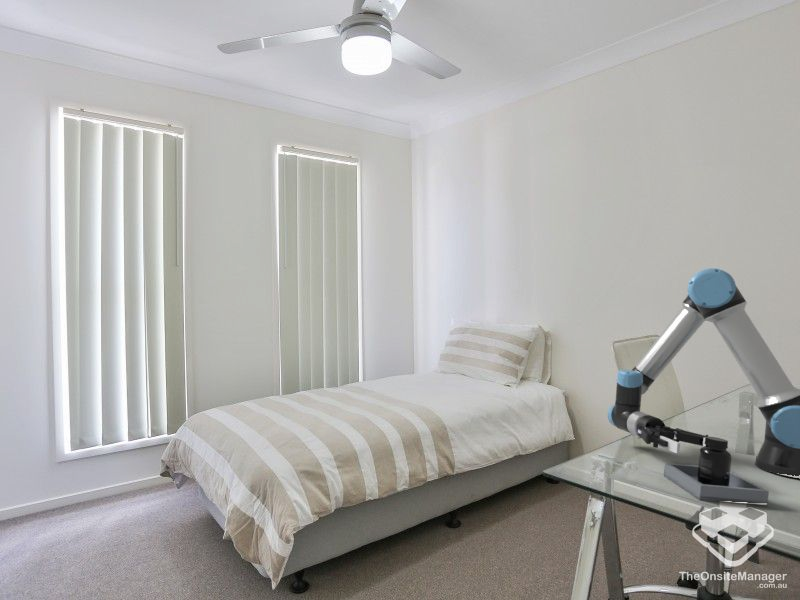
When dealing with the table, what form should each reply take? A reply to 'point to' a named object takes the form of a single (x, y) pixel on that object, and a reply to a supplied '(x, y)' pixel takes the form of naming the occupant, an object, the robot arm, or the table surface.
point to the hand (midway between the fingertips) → (701, 449)
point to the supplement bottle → (714, 462)
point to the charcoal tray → (715, 486)
